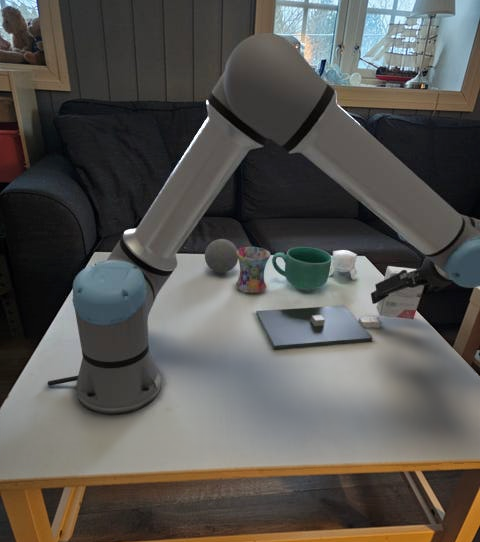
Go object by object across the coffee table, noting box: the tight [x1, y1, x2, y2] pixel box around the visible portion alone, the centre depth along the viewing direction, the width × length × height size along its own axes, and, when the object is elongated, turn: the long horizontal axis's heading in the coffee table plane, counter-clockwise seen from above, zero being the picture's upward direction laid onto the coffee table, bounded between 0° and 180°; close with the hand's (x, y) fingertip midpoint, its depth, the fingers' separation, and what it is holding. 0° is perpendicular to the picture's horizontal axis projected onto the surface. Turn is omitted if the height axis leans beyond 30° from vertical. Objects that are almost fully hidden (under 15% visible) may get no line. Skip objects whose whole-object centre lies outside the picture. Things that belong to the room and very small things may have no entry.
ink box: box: [376, 265, 425, 320], centre depth 106 cm, size 9×5×12 cm, turn 85°
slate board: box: [255, 305, 374, 350], centre depth 105 cm, size 24×16×1 cm, turn 103°
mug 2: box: [271, 246, 332, 291], centre depth 124 cm, size 17×13×10 cm
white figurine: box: [328, 249, 358, 281], centre depth 132 cm, size 9×8×15 cm
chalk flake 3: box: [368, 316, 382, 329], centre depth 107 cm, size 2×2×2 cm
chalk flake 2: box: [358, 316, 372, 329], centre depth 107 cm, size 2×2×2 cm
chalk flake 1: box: [311, 315, 325, 326], centre depth 105 cm, size 2×2×2 cm
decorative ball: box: [204, 238, 239, 274], centre depth 128 cm, size 10×10×10 cm
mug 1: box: [235, 246, 271, 294], centre depth 121 cm, size 12×9×11 cm
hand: (390, 297), depth 110 cm, fingers closed on ink box, 9 cm apart
